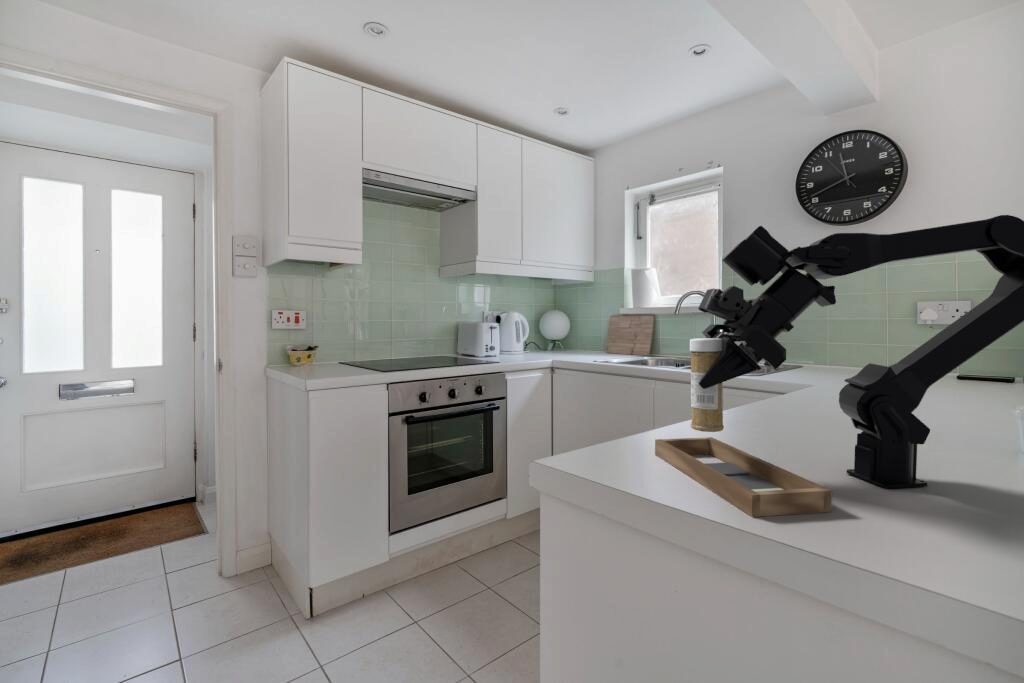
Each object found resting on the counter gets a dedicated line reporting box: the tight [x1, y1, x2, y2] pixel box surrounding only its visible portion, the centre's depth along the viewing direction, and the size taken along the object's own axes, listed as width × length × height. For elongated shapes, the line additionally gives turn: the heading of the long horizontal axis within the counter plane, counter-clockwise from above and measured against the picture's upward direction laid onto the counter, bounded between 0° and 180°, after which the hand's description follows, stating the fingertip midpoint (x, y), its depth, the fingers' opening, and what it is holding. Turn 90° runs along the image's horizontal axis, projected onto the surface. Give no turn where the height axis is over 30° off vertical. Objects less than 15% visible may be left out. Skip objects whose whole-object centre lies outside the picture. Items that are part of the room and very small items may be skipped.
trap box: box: [654, 436, 833, 518], centre depth 66 cm, size 10×25×2 cm, turn 8°
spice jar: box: [689, 337, 724, 433], centre depth 69 cm, size 5×5×13 cm
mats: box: [705, 462, 779, 490], centre depth 66 cm, size 8×11×1 cm
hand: (696, 384), depth 70 cm, fingers closed on spice jar, 4 cm apart
